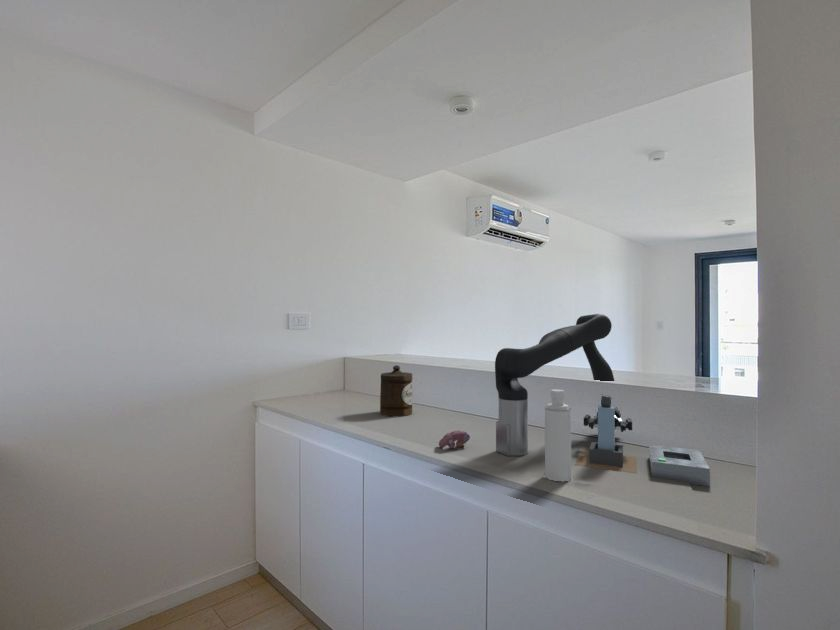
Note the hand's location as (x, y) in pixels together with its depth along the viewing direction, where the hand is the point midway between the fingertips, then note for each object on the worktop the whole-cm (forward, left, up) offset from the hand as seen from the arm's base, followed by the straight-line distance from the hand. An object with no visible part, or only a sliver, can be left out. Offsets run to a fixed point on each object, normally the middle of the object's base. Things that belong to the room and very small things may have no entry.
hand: (606, 427), depth 133 cm
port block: (+8, -17, -10) cm, 21 cm away
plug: (-4, -3, -9) cm, 10 cm away
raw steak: (-36, +31, -10) cm, 48 cm away
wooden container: (-32, +90, -10) cm, 96 cm away
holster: (-4, -3, -10) cm, 11 cm away
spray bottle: (-26, -6, -10) cm, 28 cm away
